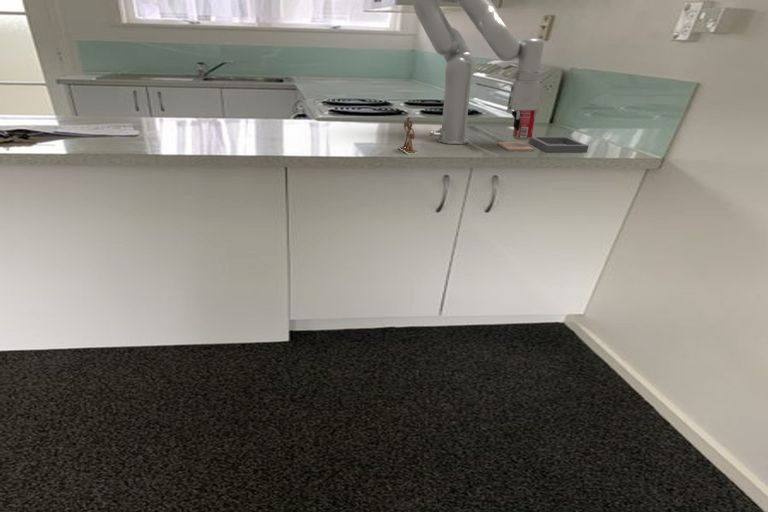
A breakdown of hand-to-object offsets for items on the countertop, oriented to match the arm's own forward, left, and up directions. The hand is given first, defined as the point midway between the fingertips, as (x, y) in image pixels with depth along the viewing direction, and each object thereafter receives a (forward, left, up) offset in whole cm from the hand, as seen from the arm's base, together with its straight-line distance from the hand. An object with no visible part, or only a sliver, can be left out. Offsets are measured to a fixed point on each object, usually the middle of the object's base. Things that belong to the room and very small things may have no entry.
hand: (518, 129), depth 158 cm
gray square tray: (+17, 0, -7) cm, 18 cm away
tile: (0, 0, -7) cm, 7 cm away
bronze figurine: (-43, -6, -7) cm, 44 cm away
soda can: (+2, +1, -4) cm, 4 cm away
